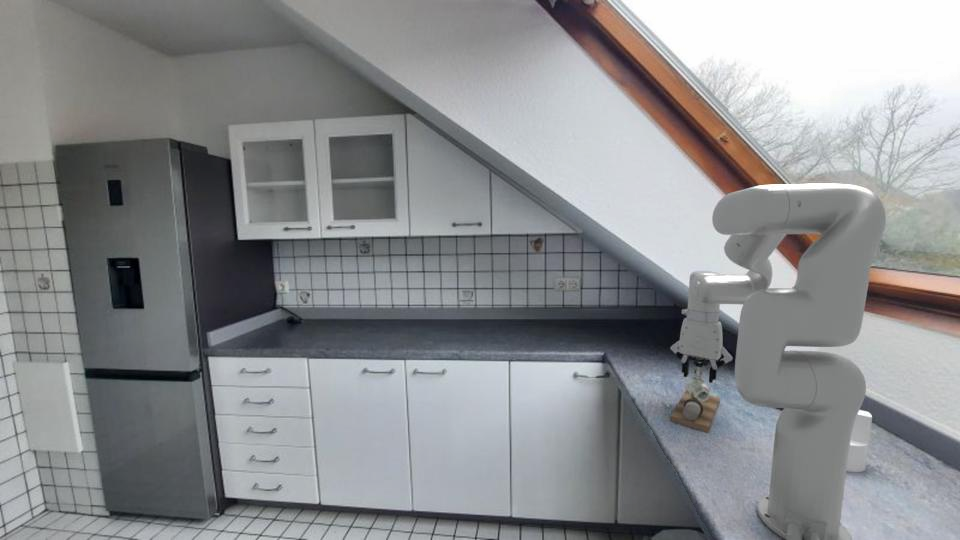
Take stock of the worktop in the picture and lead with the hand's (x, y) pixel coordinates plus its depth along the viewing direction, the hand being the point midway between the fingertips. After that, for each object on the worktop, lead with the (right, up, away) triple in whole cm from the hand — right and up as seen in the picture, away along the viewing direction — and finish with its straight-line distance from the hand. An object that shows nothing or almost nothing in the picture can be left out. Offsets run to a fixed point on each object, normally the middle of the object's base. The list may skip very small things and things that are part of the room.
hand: (698, 377), depth 106 cm
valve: (0, -6, +1) cm, 6 cm away
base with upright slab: (+19, -13, -21) cm, 31 cm away
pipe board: (0, -10, +1) cm, 10 cm away
